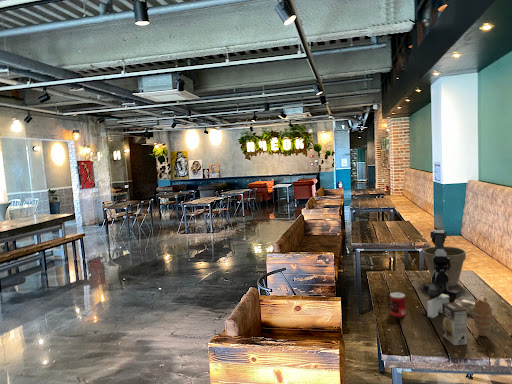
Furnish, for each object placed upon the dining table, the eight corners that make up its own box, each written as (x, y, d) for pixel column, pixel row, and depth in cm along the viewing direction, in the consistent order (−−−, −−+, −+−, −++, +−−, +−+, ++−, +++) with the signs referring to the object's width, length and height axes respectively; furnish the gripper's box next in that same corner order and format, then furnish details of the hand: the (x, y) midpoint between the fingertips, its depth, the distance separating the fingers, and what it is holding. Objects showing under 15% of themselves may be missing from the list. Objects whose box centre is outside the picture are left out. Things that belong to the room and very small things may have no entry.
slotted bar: (433, 318, 201) (432, 303, 200) (427, 316, 203) (427, 301, 202) (447, 310, 209) (447, 296, 208) (442, 309, 211) (442, 294, 210)
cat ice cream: (486, 341, 173) (485, 302, 171) (468, 335, 180) (468, 298, 178) (496, 336, 178) (496, 298, 176) (479, 330, 184) (478, 293, 183)
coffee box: (442, 336, 181) (441, 302, 179) (455, 335, 181) (454, 301, 180) (453, 345, 171) (453, 310, 170) (467, 344, 172) (467, 309, 171)
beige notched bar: (438, 306, 215) (438, 295, 215) (444, 303, 218) (443, 293, 218) (475, 317, 199) (475, 305, 198) (481, 314, 202) (481, 302, 201)
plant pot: (419, 286, 248) (418, 253, 246) (427, 275, 268) (426, 244, 267) (463, 292, 234) (463, 256, 232) (468, 280, 254) (468, 247, 252)
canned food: (405, 312, 210) (404, 292, 209) (406, 318, 203) (405, 297, 202) (390, 311, 213) (389, 291, 212) (390, 317, 205) (389, 296, 204)
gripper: (416, 277, 210) (417, 305, 211) (450, 285, 194) (450, 315, 196) (428, 273, 216) (428, 300, 217) (461, 280, 201) (462, 309, 202)
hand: (441, 306), depth 208 cm, fingers open, 9 cm apart
